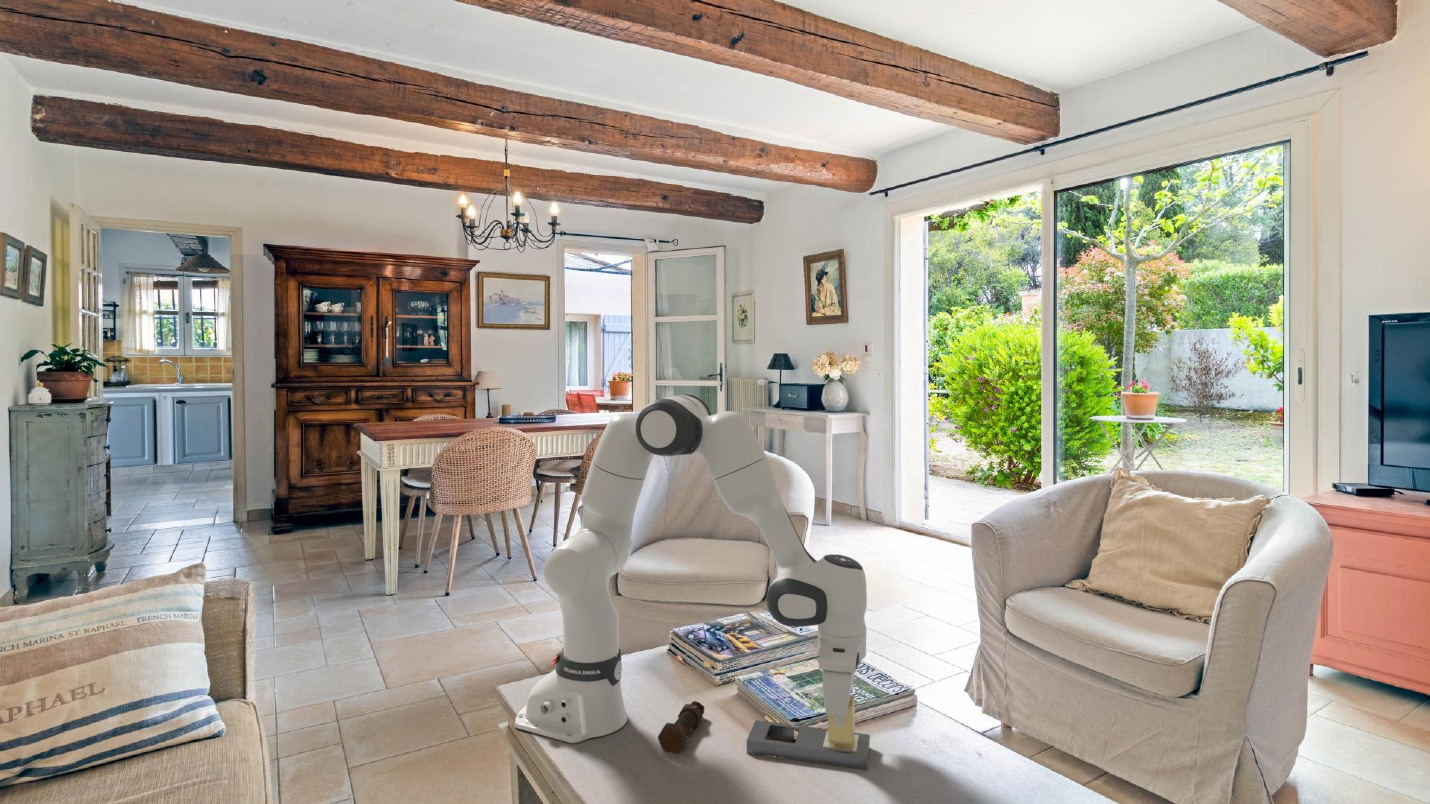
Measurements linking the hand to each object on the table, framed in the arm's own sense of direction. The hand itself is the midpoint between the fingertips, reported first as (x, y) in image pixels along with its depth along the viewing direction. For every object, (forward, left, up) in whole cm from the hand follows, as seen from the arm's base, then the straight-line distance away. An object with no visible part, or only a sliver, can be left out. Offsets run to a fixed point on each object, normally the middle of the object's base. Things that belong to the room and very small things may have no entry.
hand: (840, 717), depth 137 cm
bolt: (-30, 0, -8) cm, 31 cm away
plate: (-6, 0, -7) cm, 9 cm away
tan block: (0, 0, -4) cm, 4 cm away
